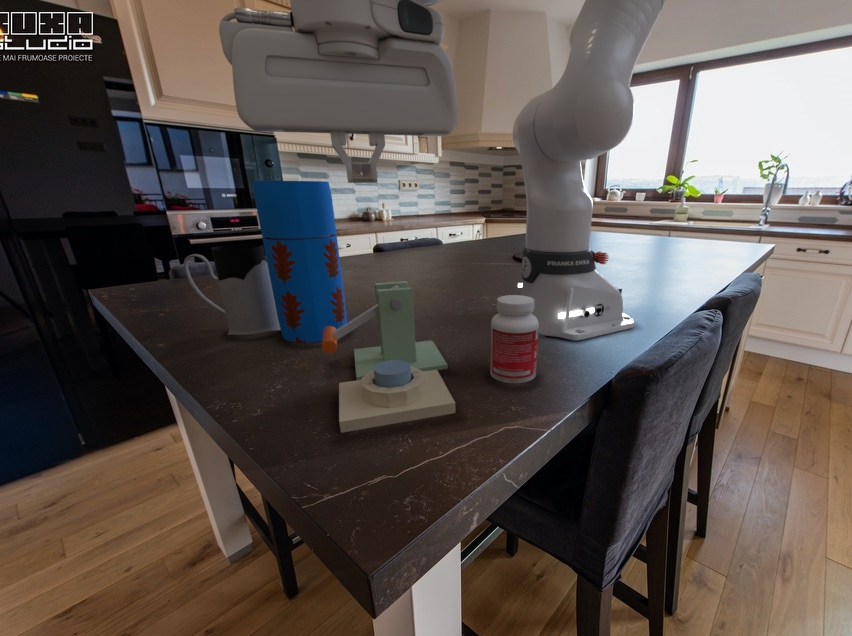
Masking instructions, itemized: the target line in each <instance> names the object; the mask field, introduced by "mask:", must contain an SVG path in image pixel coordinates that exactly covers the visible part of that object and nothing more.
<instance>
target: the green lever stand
mask: <svg viewBox="0 0 852 636" xmlns="http://www.w3.org/2000/svg"><path fill="white" fill-rule="evenodd" d="M395 285H397V286H398V287H399V288H393V289H390V288H392V287H394V286H395ZM374 292H375V302H376V304H378V306H379V314H378V315H377V323H378V333H379V335H378V336H379V343H380V344H379V345H377V346H370V347H362V348H361V347H360V348H353V355H354V356H353V358H354V367H355V368H354V369H355V379H356V381H357V380H361V379H362V378H363V377H364V376H365V375H366V374H367V373H368V372H370V371H373V370H374V367H375V366H376V365H377V364H379V363H381V362H384V361H388V360H403V361H406V362H408V363H409V364H410V366H412V367H414V368H417V369H419V370H421V371H422V372H423V371H430V370H438V371H443V370H448V367H449V366H448V363H447V362H446V360H445V359H444V357H443V355H442V353H441V352H440V350H439V349H438V347H437V345H436V344H435V342H434V341H433V340H424V341H423V340H422V341H416V329H415V328H416V327H415V326H416V325H415V313H414V312H415V311H414V296H413V295H414V294H413V288H412V287H411V286H408V281H407V280H404V281H403V280H402V281H401V280H400V281H387V282H375V283H374ZM376 304H375V305H376Z"/></svg>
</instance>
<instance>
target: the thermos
mask: <svg viewBox="0 0 852 636" xmlns="http://www.w3.org/2000/svg"><path fill="white" fill-rule="evenodd" d="M252 184H253V196H254V202H255V208H256V213H257V217H258V222H259V227H260V233H261V238H262V243H263V249H264V254H265V259H266V262H267V264H268V269H269V275H270V280H271V285H272V290H273V295H274V301H275V306H276V311H277V316H278V321H279V325H280V329H281V330H280V333H281V337H282V339H283V340H285V341H287V342H291V343H296V344H297V343H300V344H301V343H302V344H303V343H304V344H306V343H307V344H309V343H316V342H317V343H318V342H322V341H323V332H324V329H325V328H326V327H328V326H333V327H335V328H336V329H338V328H340V327H341V326H343V325H345V324H346V323H348V317H347V316H348V315H347V308H346V298H345V290H344V282H343V274H342V273H343V272H342V266H341V257H340V251H339V244H338V243H339V241H338V235H337V227H336V220H335V211H334V205H333V204H334V203H333V196H332V190H331V186H330V182H329V181H322V180H321V181H320V180H253V181H252Z"/></svg>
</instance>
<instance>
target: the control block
mask: <svg viewBox="0 0 852 636" xmlns="http://www.w3.org/2000/svg"><path fill="white" fill-rule="evenodd" d="M410 368H411V382H410V383H408V384H405V385H403V386H399V387H392V388H387V387H379V386H377V385H376V384H375V377H374V370H373V371H370V372H368V373H367V374H366V375H365V376H364V377H363V378H362V379H361V380H357V379H356V380H350V381H349V380H348V381H343V382H339V383H338V424H339V431H340V433H341V434H342V433H348V432H353V431H359V430H365V429H370V428H377V427H382V426H388V425H394V424H395V425H396V424H400V423H406V422H411V421H418V420H423V419H429V418H435V417H441V416H447V415H452V414H456V401H455V400H454V398H453V396H452V394H451V393H450V391H449V389H448V386H447V385H446V382H445V381H444V379H443V378H442V376H441V374H440V373H439V370H430V371H423V372H422V371H421V370H419V369H417V368H414V367H412V366H410Z"/></svg>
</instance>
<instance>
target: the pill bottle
mask: <svg viewBox="0 0 852 636" xmlns="http://www.w3.org/2000/svg"><path fill="white" fill-rule="evenodd" d="M533 310H534V299H533V298H531V297H527V296H521V294H520V295H519V294H508V295H507V294H506V295H502V296H499V297H497V299H496V311H497V313H496V314H494V316H493V317H492V318H491V320H490V350H489V351H490V355H489V356H490V357H489V358H490V359H489V374H490V376H491V377H492V378H493V379H495V380H496V381H498V382H502V383H507V384H522V383H528V382H530V381H532V380H534V379H535V378H536V377H537V366H538V365H537V364H538V350H539V332H538V331H539V322H538V320H537V318H536V317H535V316H534V315H532V312H533Z"/></svg>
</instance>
